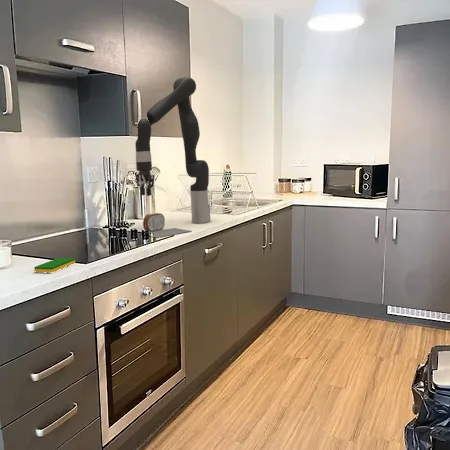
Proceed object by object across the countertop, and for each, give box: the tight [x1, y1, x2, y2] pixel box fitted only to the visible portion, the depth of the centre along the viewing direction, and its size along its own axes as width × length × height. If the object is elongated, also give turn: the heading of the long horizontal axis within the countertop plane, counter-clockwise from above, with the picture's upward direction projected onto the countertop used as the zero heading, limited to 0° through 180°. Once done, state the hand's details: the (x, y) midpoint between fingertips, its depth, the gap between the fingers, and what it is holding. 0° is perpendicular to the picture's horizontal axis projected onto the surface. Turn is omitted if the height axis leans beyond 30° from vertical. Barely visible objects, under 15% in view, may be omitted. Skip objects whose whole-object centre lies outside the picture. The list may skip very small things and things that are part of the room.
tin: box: [142, 212, 166, 232], centre depth 230 cm, size 15×3×8 cm, turn 152°
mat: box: [150, 227, 192, 239], centre depth 224 cm, size 20×14×1 cm
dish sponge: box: [33, 257, 76, 272], centre depth 163 cm, size 7×14×2 cm, turn 164°
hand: (145, 195), depth 233 cm, fingers open, 5 cm apart
